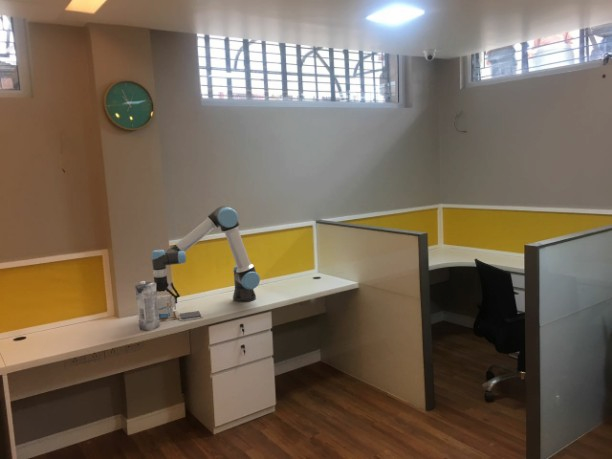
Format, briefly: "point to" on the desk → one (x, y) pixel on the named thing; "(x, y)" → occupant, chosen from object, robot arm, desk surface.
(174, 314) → the print board
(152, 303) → the juice carton
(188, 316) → the ink pad
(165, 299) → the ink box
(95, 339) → the desk surface
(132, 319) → the desk surface
